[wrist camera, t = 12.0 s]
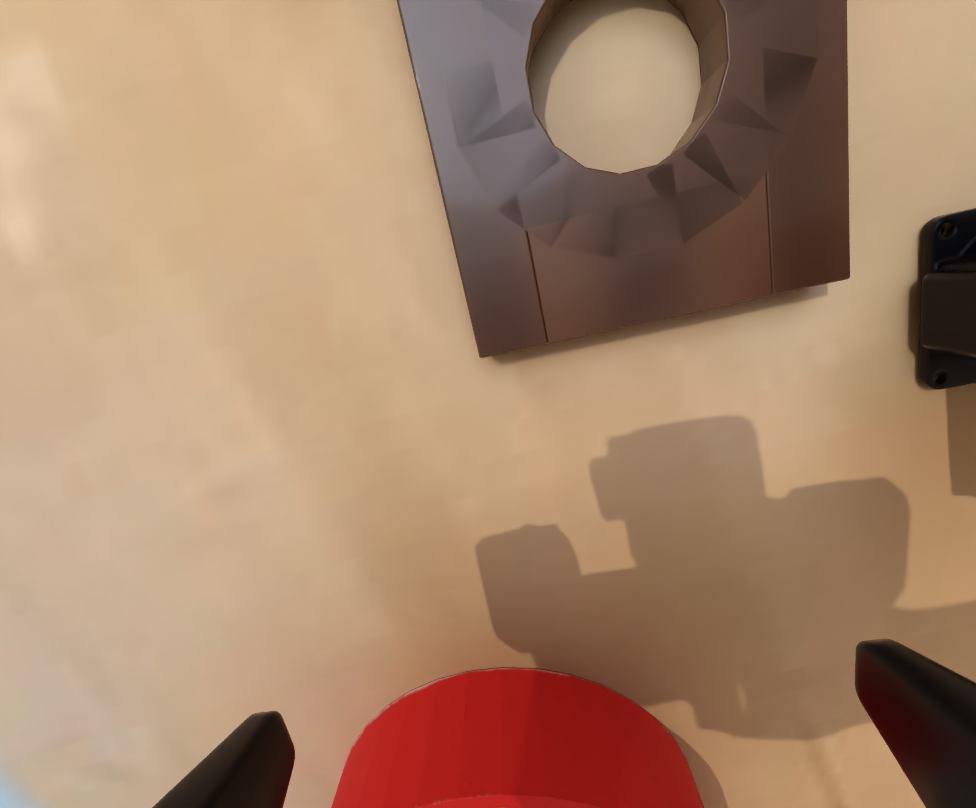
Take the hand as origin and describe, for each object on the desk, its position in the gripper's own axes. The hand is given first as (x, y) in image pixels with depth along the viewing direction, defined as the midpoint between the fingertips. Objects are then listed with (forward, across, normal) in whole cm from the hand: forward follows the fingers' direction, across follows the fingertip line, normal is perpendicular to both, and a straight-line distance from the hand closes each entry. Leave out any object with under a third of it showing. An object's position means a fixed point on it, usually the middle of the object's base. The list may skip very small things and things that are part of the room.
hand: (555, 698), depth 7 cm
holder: (+13, -5, -12) cm, 18 cm away
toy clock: (+13, +4, +22) cm, 26 cm away
